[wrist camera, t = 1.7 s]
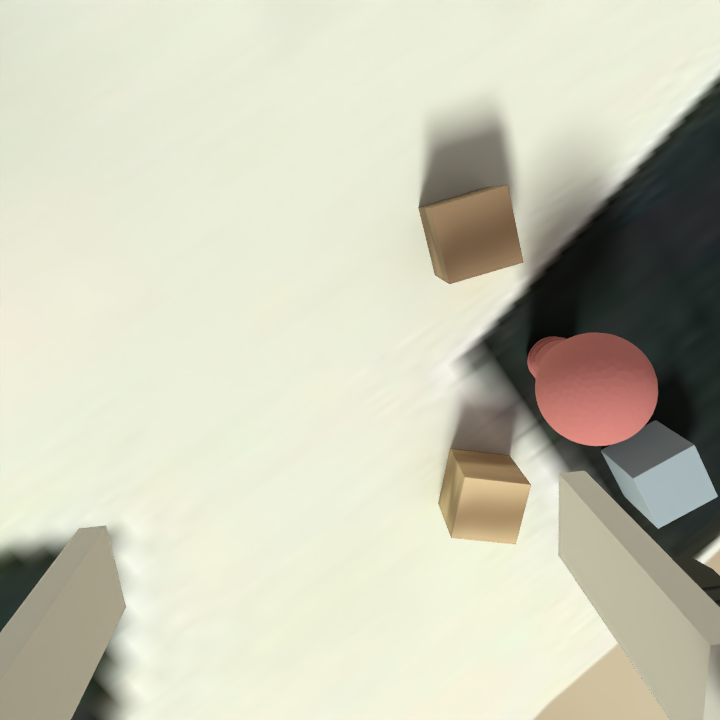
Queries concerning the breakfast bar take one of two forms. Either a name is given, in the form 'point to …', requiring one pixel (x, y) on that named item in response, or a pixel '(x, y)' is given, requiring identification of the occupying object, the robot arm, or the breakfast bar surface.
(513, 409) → the breakfast bar surface
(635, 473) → the slate-blue painted block
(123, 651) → the breakfast bar surface
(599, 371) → the light bulb
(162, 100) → the breakfast bar surface
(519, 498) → the oak block
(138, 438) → the breakfast bar surface
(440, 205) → the walnut block
